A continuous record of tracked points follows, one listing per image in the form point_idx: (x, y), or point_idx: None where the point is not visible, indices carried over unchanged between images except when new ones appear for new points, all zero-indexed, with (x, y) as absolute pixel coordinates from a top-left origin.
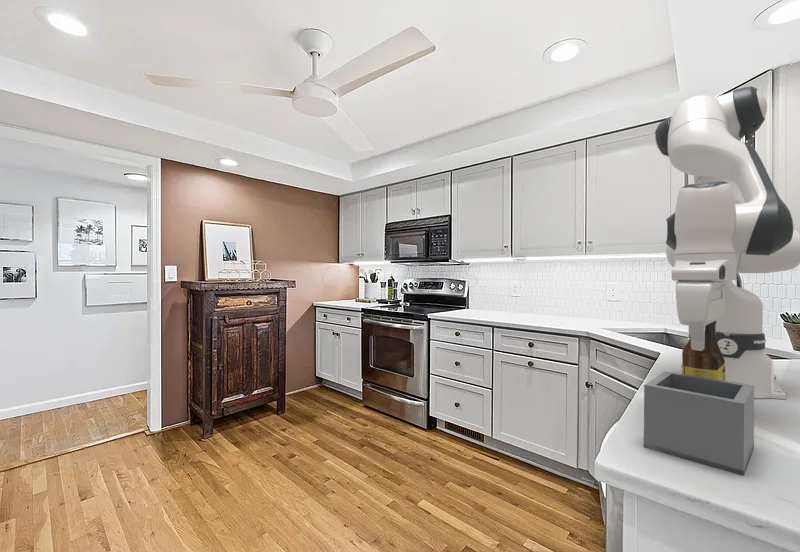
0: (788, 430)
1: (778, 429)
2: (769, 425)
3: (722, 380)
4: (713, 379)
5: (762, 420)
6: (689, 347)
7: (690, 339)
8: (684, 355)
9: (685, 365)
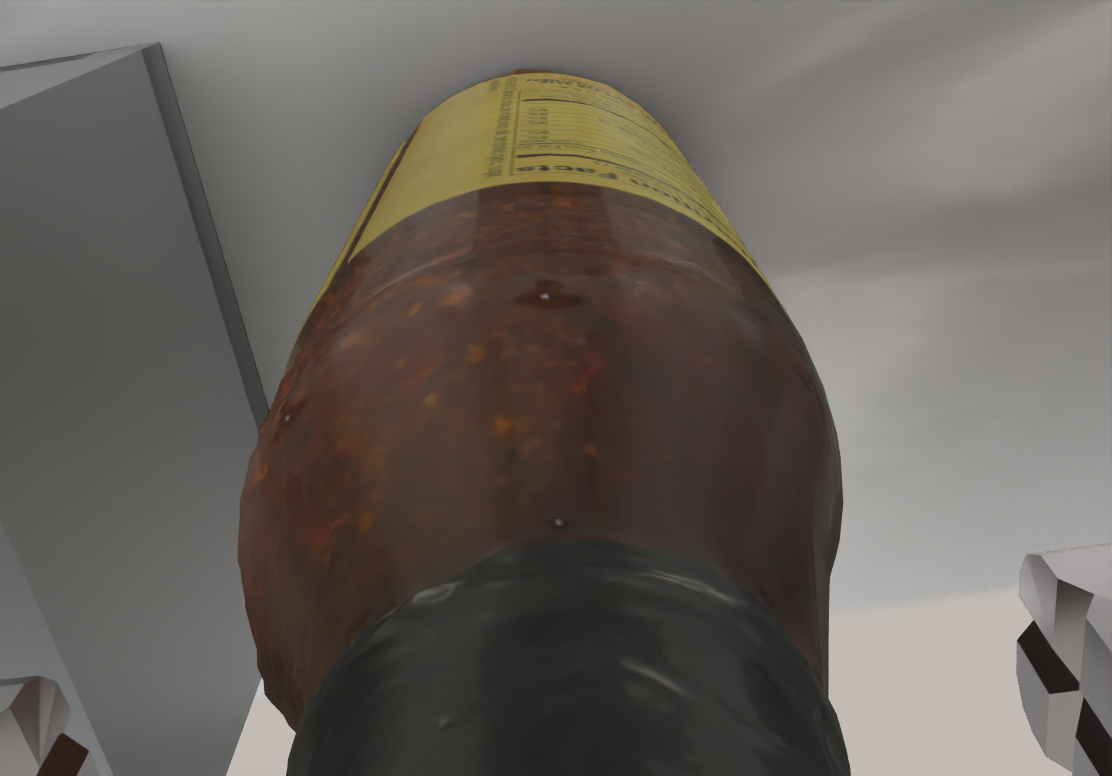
0: (922, 581)
1: (892, 544)
2: (947, 494)
3: (85, 729)
4: (35, 670)
5: (1049, 441)
6: (280, 516)
7: (412, 586)
8: (305, 352)
9: (333, 301)
